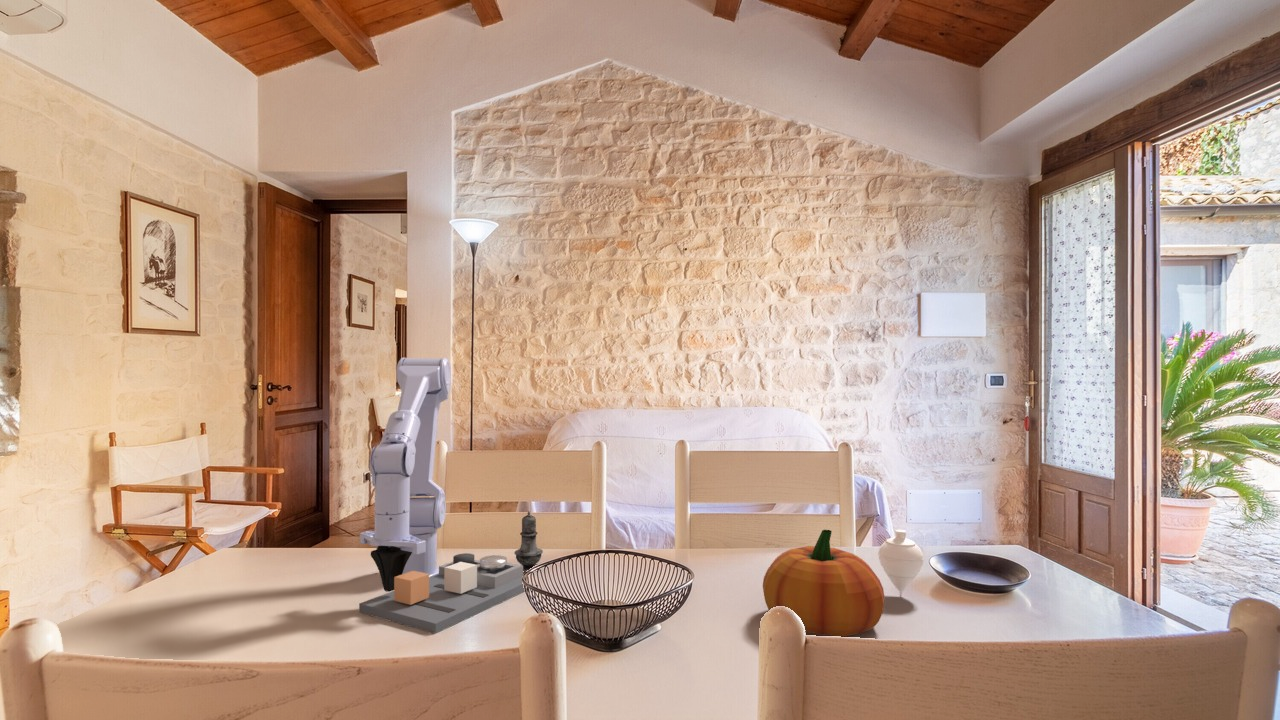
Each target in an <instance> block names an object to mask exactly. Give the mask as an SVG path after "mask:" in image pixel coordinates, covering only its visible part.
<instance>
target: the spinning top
mask: <svg viewBox="0 0 1280 720" xmlns="http://www.w3.org/2000/svg"><path fill="white" fill-rule="evenodd" d="M894 534H895V535H894V537H889V538H887V539H886V540H885V541H884V542H883V543H882V544H881V546H880V547H879V549H878V560H879V563H880V566H881V567H882V570H883V571H884V573H885V574H886V576H887V577H888V579H889V581H890V582H891V584H893V586H894V587H895V589H897V590H898V592H899V596H900V597H902V596H903V592H904V591H905V590H906V589H908V587H909V586H910V585H911V584H912V583H913V581H914V580H915V579H916V578H917V576H918V575H919V573H920V571H921V570H922V567H923V565H924V554H923V551H922V550H921V548H920V547H919V546H918V545H917V544H916V542H915V541H913V540H912V539H909V538H907V531H906V530H904V529H895V530H894Z"/></svg>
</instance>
